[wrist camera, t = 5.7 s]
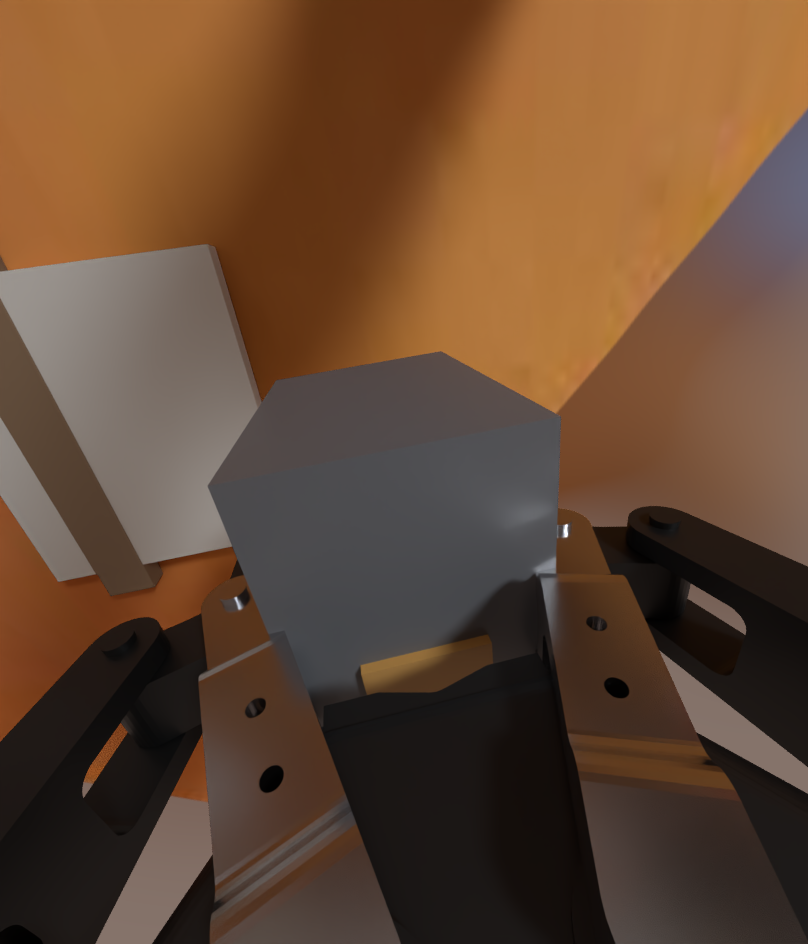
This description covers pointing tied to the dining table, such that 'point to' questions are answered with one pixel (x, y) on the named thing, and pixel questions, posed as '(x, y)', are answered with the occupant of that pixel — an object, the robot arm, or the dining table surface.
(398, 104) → the dining table surface
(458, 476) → the block
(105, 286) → the board
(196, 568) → the dining table surface
